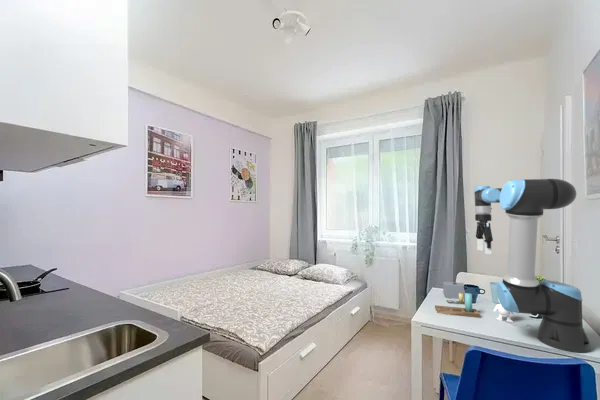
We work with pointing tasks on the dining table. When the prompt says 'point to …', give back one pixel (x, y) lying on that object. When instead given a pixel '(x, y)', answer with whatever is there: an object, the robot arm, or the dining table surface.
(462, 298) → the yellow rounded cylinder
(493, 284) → the cup
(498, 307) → the figurine
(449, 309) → the socket board
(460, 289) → the housing
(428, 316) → the dining table surface
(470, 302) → the peg
